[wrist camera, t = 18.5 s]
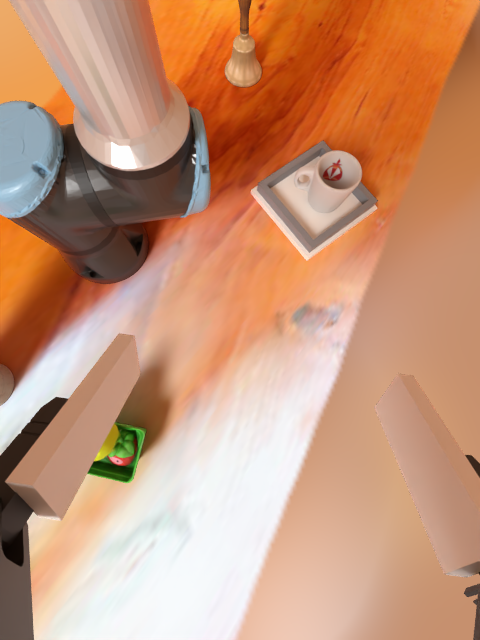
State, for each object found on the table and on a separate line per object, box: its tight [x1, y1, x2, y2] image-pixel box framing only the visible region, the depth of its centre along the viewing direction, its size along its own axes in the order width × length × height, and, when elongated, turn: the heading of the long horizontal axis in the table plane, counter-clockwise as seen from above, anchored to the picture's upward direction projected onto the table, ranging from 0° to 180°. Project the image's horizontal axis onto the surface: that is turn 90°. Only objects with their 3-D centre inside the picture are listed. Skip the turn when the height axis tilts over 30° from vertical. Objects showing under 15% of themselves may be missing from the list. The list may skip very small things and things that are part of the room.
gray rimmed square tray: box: [251, 141, 378, 261], centre depth 49 cm, size 18×18×3 cm
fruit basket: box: [87, 422, 147, 483], centre depth 37 cm, size 11×9×11 cm
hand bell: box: [225, 0, 262, 87], centre depth 48 cm, size 8×8×16 cm
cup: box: [294, 150, 362, 213], centre depth 46 cm, size 11×8×8 cm
